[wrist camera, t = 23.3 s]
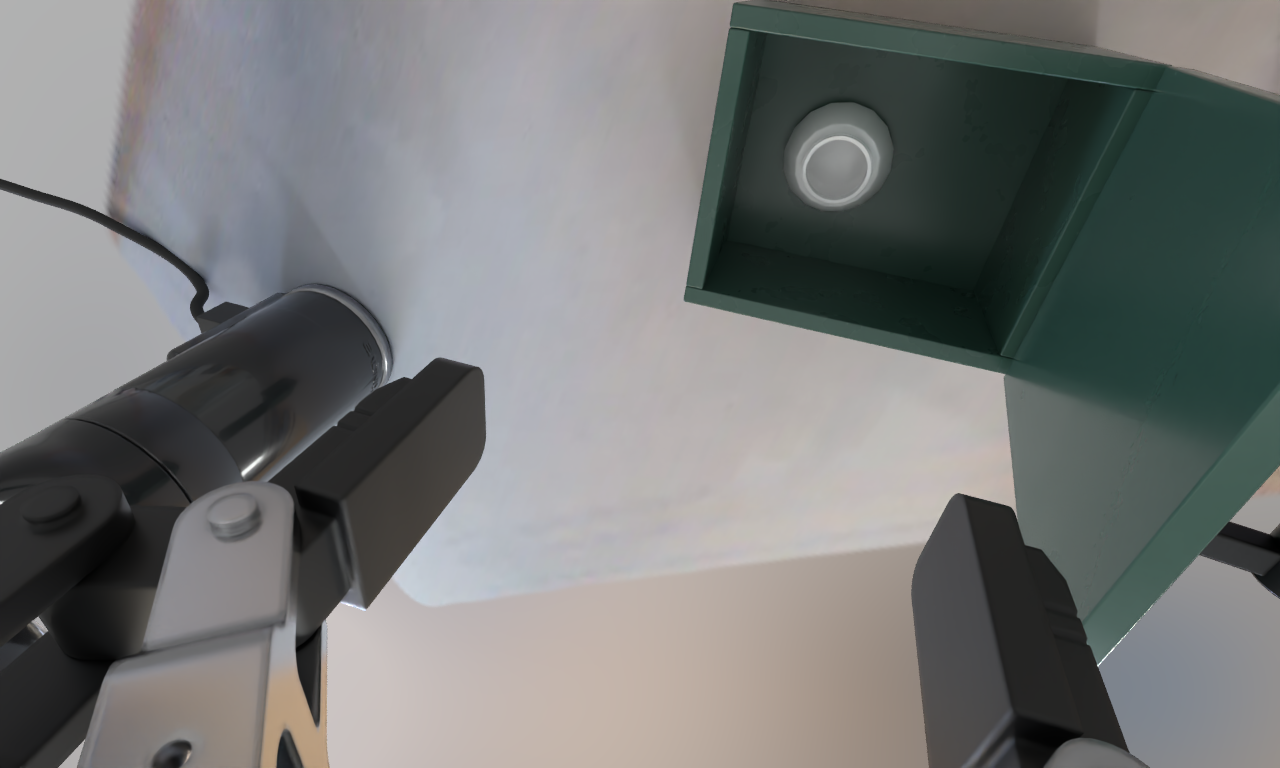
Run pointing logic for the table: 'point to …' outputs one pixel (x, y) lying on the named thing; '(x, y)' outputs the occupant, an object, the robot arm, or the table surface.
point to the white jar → (838, 157)
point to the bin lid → (1158, 361)
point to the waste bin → (909, 177)
